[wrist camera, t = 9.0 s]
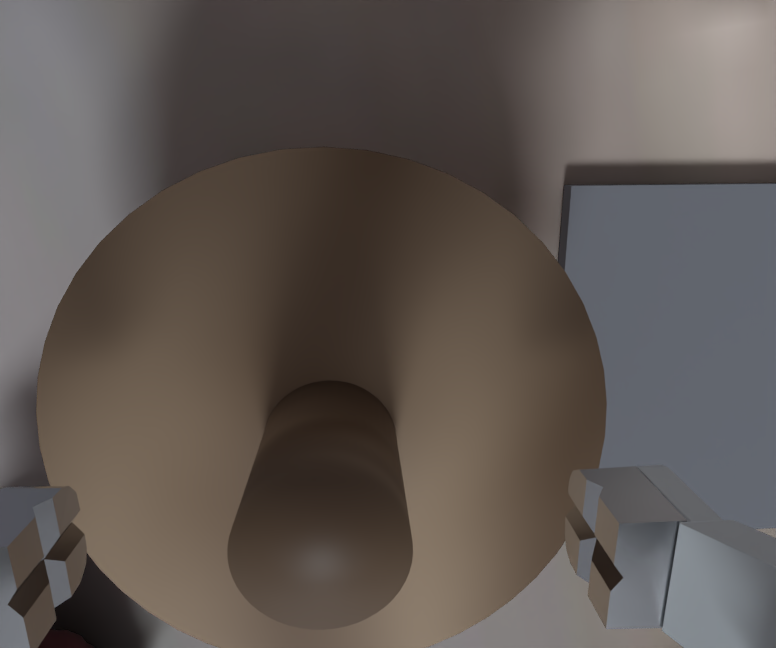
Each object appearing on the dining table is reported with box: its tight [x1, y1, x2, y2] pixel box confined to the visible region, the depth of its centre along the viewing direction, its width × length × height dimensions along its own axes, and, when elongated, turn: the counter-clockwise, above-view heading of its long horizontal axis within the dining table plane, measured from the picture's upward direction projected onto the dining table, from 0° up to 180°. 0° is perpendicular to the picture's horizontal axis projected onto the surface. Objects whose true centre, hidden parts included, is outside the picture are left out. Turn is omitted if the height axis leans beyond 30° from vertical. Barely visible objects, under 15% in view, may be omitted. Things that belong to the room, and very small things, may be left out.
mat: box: [558, 183, 776, 529], centre depth 19 cm, size 14×12×1 cm
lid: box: [36, 147, 607, 648], centre depth 11 cm, size 12×12×5 cm
